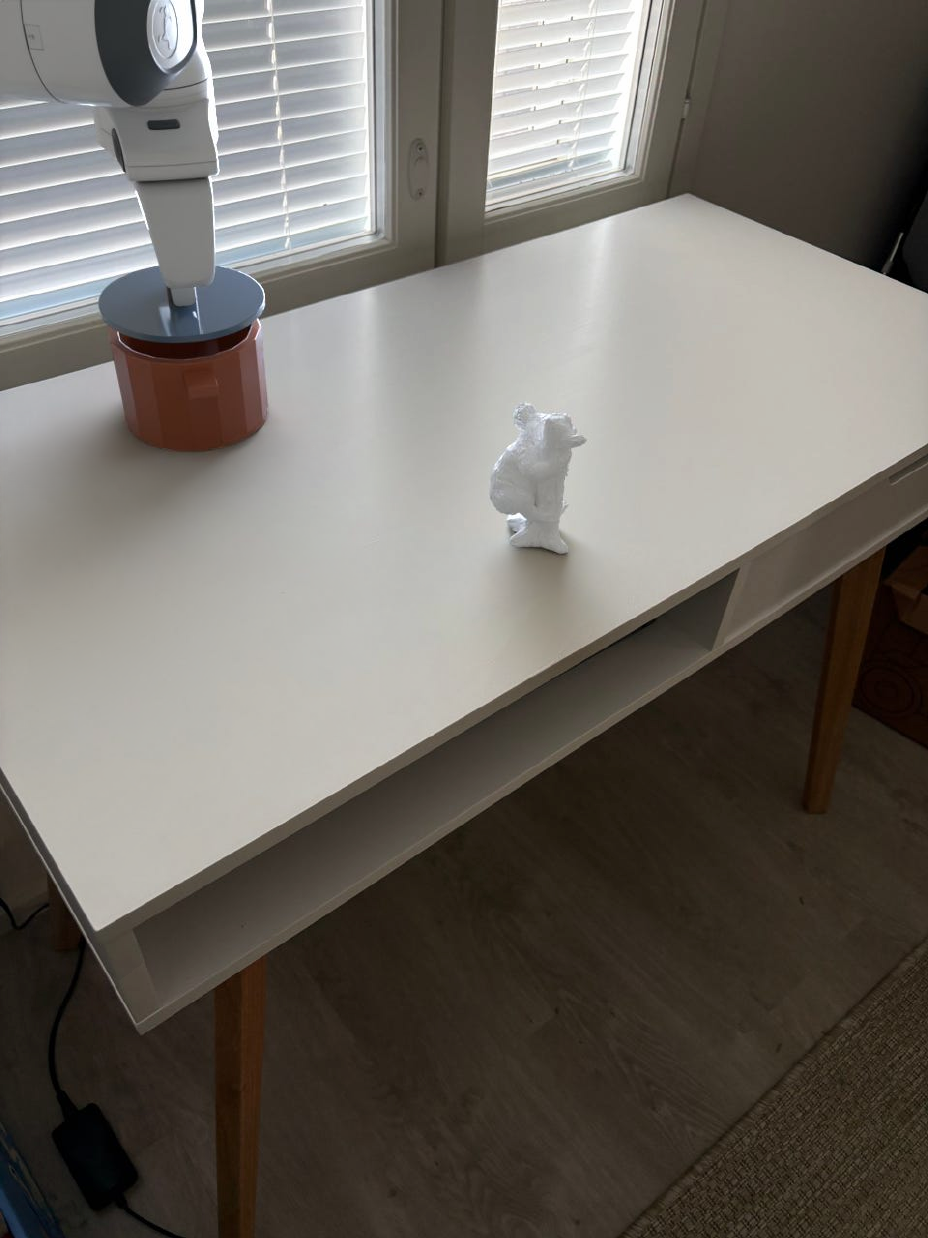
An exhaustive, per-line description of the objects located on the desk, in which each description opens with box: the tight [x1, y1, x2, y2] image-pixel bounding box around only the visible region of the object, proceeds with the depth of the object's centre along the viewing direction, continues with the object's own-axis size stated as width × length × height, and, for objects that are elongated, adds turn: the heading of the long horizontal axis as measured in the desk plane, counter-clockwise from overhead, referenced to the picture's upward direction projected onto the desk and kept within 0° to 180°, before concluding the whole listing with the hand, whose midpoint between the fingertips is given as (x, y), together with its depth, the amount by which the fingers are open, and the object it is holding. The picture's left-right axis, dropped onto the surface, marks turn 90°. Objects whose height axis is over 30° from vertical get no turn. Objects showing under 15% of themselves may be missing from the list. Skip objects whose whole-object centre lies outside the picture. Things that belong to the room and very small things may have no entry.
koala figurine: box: [488, 402, 588, 555], centre depth 78 cm, size 8×7×12 cm
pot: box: [107, 317, 269, 452], centre depth 90 cm, size 13×18×8 cm
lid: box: [97, 264, 266, 343], centre depth 84 cm, size 14×14×5 cm
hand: (180, 292), depth 84 cm, fingers closed on lid, 2 cm apart
